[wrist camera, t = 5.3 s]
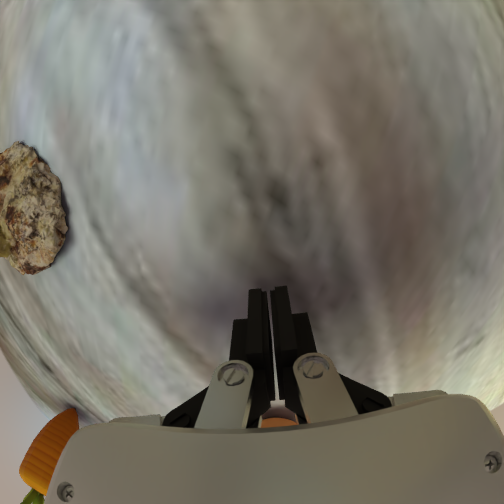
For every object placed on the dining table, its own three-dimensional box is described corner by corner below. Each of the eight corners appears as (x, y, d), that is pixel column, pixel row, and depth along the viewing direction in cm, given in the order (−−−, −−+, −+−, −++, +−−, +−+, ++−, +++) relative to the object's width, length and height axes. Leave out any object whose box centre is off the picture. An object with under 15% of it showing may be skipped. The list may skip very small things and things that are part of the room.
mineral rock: (48, 131, 8) (36, 311, 9) (96, 147, 13) (82, 287, 14) (-43, 146, 8) (-50, 265, 9) (-3, 151, 12) (-12, 255, 14)
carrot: (55, 387, 19) (1, 502, 5) (98, 413, 20) (55, 535, 6) (54, 403, 21) (10, 503, 7) (91, 426, 22) (55, 531, 8)
